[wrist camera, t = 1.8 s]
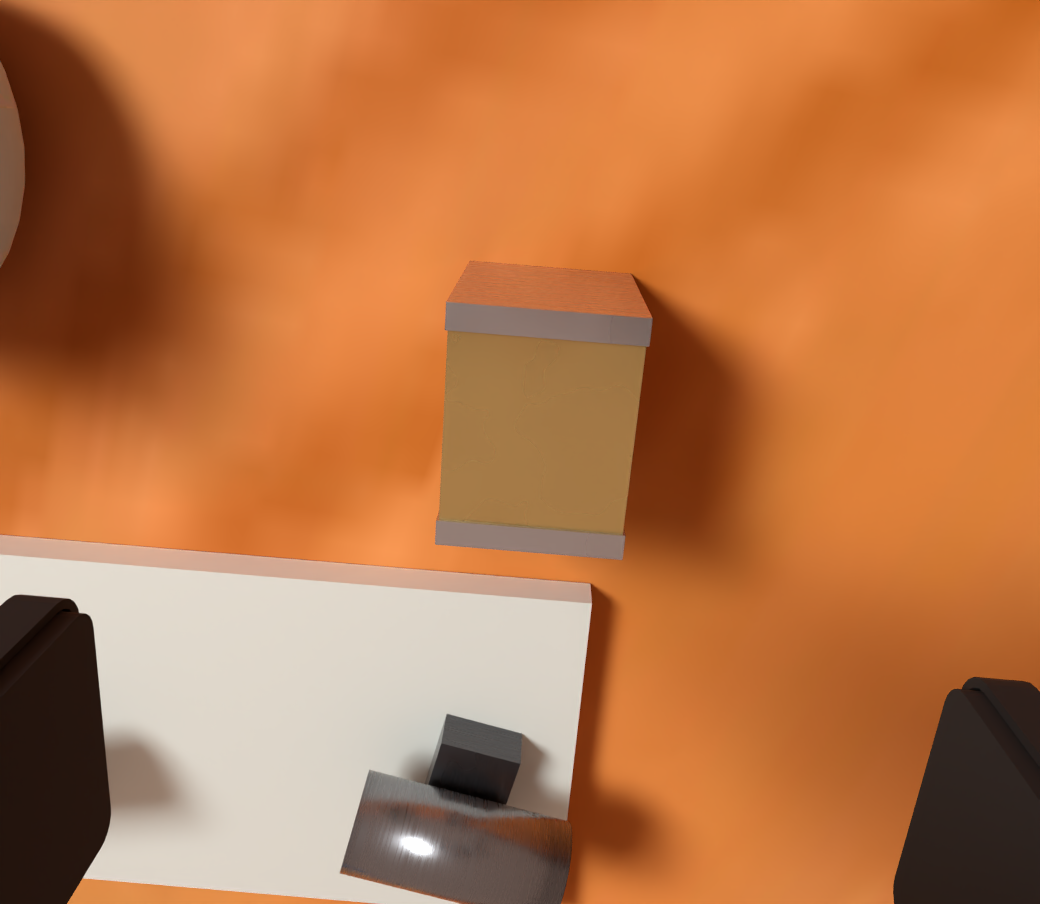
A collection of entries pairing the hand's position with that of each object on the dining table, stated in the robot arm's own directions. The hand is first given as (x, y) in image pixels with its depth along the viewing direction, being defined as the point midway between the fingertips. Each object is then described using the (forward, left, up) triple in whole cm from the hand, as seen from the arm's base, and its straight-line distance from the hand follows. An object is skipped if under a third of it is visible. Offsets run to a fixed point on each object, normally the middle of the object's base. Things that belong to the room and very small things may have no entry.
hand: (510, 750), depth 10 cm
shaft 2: (+1, +13, -15) cm, 20 cm away
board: (+8, +12, -16) cm, 22 cm away
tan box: (0, 0, -16) cm, 16 cm away
